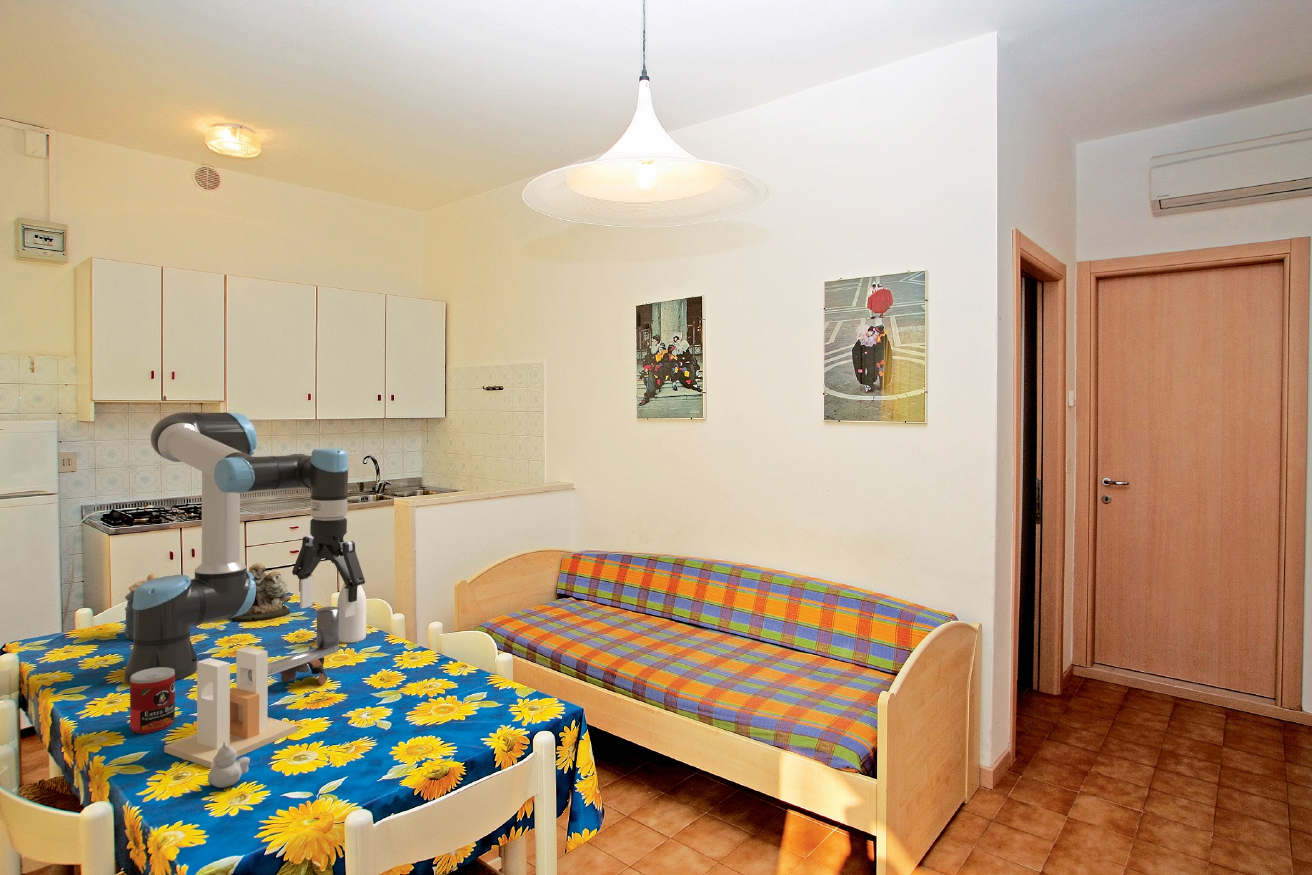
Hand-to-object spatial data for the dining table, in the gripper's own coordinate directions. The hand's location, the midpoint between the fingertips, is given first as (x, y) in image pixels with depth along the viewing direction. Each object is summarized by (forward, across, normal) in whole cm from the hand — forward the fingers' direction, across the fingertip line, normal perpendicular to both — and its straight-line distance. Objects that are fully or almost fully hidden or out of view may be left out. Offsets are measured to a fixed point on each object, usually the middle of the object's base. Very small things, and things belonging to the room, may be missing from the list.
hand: (327, 611), depth 165 cm
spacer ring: (+19, +1, -21) cm, 29 cm away
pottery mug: (+21, -14, +6) cm, 26 cm away
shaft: (+10, +1, -8) cm, 13 cm away
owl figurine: (+22, -75, +38) cm, 87 cm away
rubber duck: (+20, +16, -34) cm, 42 cm away
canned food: (+21, -20, -26) cm, 39 cm away
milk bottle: (+22, -31, +35) cm, 52 cm away
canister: (+22, -84, +11) cm, 88 cm away
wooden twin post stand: (+20, +1, -23) cm, 31 cm away
